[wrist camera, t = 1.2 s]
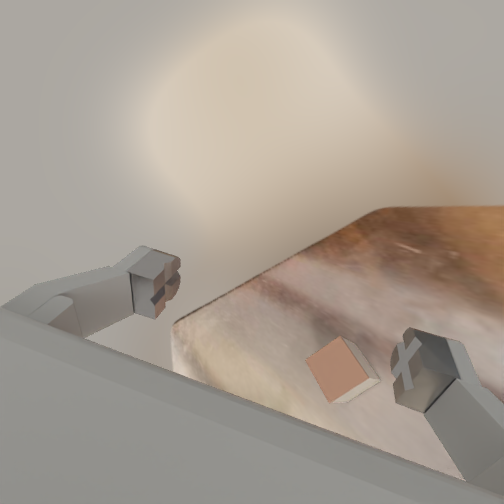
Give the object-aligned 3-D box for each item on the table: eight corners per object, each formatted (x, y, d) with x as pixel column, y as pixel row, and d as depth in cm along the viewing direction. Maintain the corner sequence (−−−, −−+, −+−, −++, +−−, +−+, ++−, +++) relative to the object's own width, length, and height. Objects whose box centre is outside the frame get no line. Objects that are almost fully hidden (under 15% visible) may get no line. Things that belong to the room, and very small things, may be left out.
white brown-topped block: (381, 380, 42) (368, 377, 36) (346, 402, 43) (329, 402, 37) (355, 344, 45) (339, 335, 39) (324, 365, 47) (305, 360, 41)
